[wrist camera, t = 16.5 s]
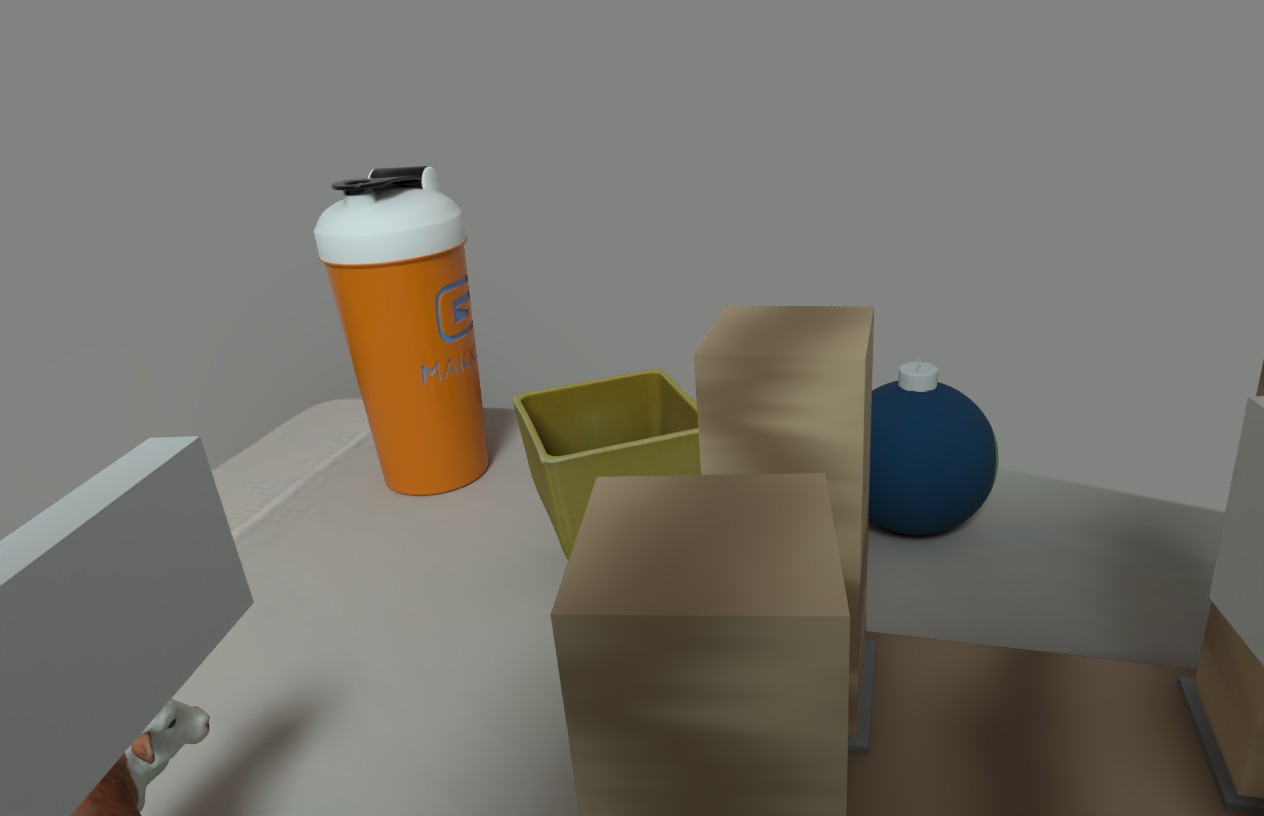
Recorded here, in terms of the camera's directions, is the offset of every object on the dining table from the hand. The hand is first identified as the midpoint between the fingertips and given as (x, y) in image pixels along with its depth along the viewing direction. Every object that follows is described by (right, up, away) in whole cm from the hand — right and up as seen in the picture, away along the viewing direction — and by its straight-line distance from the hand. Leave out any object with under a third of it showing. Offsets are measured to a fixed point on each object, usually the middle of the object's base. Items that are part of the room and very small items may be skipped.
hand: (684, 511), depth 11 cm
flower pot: (-1, -7, +37) cm, 37 cm away
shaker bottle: (-14, -3, +49) cm, 51 cm away
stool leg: (+2, -14, +11) cm, 18 cm away
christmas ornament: (+15, -5, +37) cm, 41 cm away
